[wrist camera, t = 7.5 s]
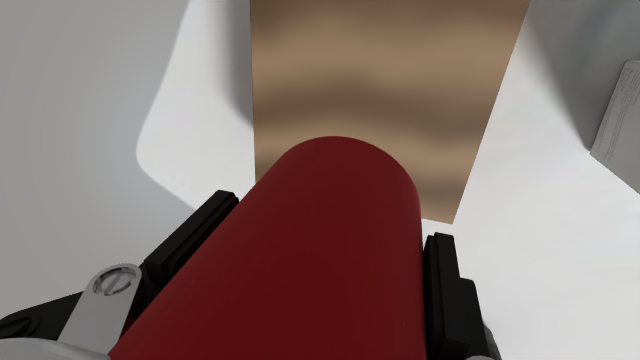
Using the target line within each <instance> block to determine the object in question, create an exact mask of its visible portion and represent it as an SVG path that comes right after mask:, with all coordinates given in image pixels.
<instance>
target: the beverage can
mask: <svg viewBox="0 0 640 360" xmlns="http://www.w3.org/2000/svg"><path fill="white" fill-rule="evenodd" d="M107 355H108V356H110V360H427V349H426V317H425V289H424V264H423V241H422V223H421V205H420V199H419V195H418V192H417V189H416V187H415V185H414V183H413V181H412V179H411V178H410V176H409V174H408V173H407V172H406V170H405V169H404V168H403V167H402V166H401V165H400V164H399V163H398V162H397V161H396V160H395V159H394V158H393V157H392V156H390V155H389V154H388V153H386V152H385V151H383V150H382V149H380V148H378V147H376V146H374V145H372V144H370V143H367V142H365V141H362V140H359V139H355V138H350V137H343V136H324V137H318V138H313V139H310V140H306V141H304V142H301V143H299V144H297V145H295V146H294V147H292V148H290V149H289V150H288V151H287V152H285V153H284V154H283V155H282V156H281V157H280V158H279V159H278V160H277V161H276V162H275V164H274V165H273V166H272V167H271V168H270V169H269V170H268V171H267V172H266V173H265V174H264V176H263V177H262V178H261V179H260V180H259V181H258V182H257V183H256V184H255V185H254V186H253V188H252V189H251V190H250V191H249V192H248V193H247V194H246V195H245V197H244V198H243V199H242V200H241V201H240V202H239V203H238V204H237V206H236V207H235V208H234V209H233V210H232V211H231V212H230V213H229V215H228V216H227V217H226V218H225V219H224V220H223V221H222V222H221V224H220V225H219V226H218V227H217V228H216V229H215V230H214V231H213V233H212V234H211V235H210V236H209V237H208V238H207V239H206V241H205V242H204V243H203V244H202V245H201V246H200V247H199V249H198V250H197V251H196V252H195V253H194V254H193V255H192V257H191V258H190V259H189V260H188V261H187V262H186V263H185V265H184V266H183V267H182V268H181V269H180V270H179V271H178V273H177V274H176V275H175V276H174V277H173V278H172V279H171V281H170V282H169V283H168V284H167V285H166V286H165V287H164V289H163V290H162V291H161V292H160V293H159V294H158V295H157V297H156V298H155V299H154V300H153V301H152V302H151V304H150V305H149V306H148V307H147V308H146V309H145V311H144V312H143V313H142V314H141V315H140V316H139V318H138V319H137V320H136V321H135V322H134V323H133V325H132V326H131V327H130V328H129V329H128V330H127V332H126V333H125V334H124V335H123V336H122V337H121V338H120V340H119V341H118V342H117V343H116V344H115V345H114V347H113V348H112V349H111V350H110V351H109V352H108V354H107Z"/></svg>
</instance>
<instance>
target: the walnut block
mask: <svg viewBox="0 0 640 360" xmlns="http://www.w3.org/2000/svg"><path fill="white" fill-rule="evenodd" d="M529 3H530V0H250V20H251V52H252V84H253V117H254V149H255V182H256V183H257V182H258V181H259V180H260V179H261V178H262V177H263V176H264V174H265V173H266V172H267V171H268V170H269V169H270V168H271V167H272V166H273V165H274V164H275V162H276V161H277V160H278V159H279V158H280V157H281V156H282V155H283V154H284V153H285V152H287V151H288V150H289V149H290V148H292V147H294V146H295V145H297V144H299V143H301V142H304V141H306V140H310V139H313V138H318V137H324V136H343V137H350V138H355V139H359V140H362V141H365V142H367V143H370V144H372V145H374V146H376V147H378V148H380V149H382V150H383V151H385V152H386V153H388V154H389V155H390V156H392V157H393V158H394V159H395V160H396V161H397V162H398V163H399V164H400V165H401V166H402V167H403V168H404V169H405V170H406V172H407V173H408V174H409V176H410V178H411V179H412V181H413V183H414V185H415V187H416V189H417V192H418V195H419V199H420V205H421V218H423V219H428V220H433V221H438V222H443V223H448V224H453V221H454V218H455V215H456V212H457V209H458V207H459V204H460V201H461V198H462V195H463V192H464V189H465V186H466V184H467V181H468V178H469V175H470V172H471V169H472V166H473V163H474V161H475V158H476V155H477V152H478V149H479V146H480V143H481V140H482V138H483V135H484V132H485V129H486V126H487V123H488V120H489V118H490V115H491V112H492V109H493V106H494V103H495V100H496V97H497V95H498V92H499V89H500V86H501V83H502V80H503V77H504V74H505V72H506V69H507V66H508V63H509V60H510V57H511V54H512V51H513V49H514V46H515V43H516V40H517V37H518V34H519V31H520V28H521V26H522V23H523V20H524V17H525V14H526V11H527V8H528V6H529Z"/></svg>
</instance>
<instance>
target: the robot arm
mask: <svg viewBox="0 0 640 360" xmlns="http://www.w3.org/2000/svg"><path fill="white" fill-rule="evenodd" d="M238 203H239V199H238V197H235V194H234V193H233V192H228V191H223V190H218V191H216V192H215V193H214V194H213V195H212V196H211V197H210V198H209V199H208V200H207V201H206V202H205V203H204V204H203V205H202V206H201V207H200V208H198V209H197V210H196V211H195V212H194V213H193V214H192V215H191V216H190V217H189V218H188V219H187V220H186V221H185V222H184V223H183V224H182V225H181V226H180V227H179V228H178V229H176V230H175V231H174V232H173V233H172V234H171V235H170V236H169V237H168V238H167V239H166V240H165V241H164V242H163V243H162V244H160V246H158V247H157V248H156V249H155V250H154V251H153V252H152V253H151V254H150V255H149V256H148V257H147V258H146V259H145V260H144V262H143V263H142V264H141V265H140V266H139V267H137V266H136V265H133V264H118V265H114V266H111V267H108V268H106V269H104V270H102V271H100V272H99V273H98V274H96V275H95V276H94V277H93V278H92V279H91V280H90V282H89V283H88V285H87V287H86V288H85V290H84V291H83V292H79V293H76V294H72V295H69V296H66V297H63V298H60V299H56V300H53V301H50V302H47V303H44V304H41V305H37V306H34V307H30V308H28V309H24V310H21V311H18V312H15V313H13V314H10V315H8V316H6V317H4V318H3V319H1V320H0V360H110V356H108V355H107V354H108V352H109V351H110V350H111V349H112V348H113V347H114V345H115V344H116V343H117V342H118V341H119V340H120V338H121V337H122V336H123V335H124V334H125V333H126V332H127V330H128V329H129V328H130V327H131V326H132V325H133V323H134V322H135V321H136V320H137V319H138V318H139V316H140V315H141V314H142V313H143V312H144V311H145V309H146V308H147V307H148V306H149V305H150V304H151V302H152V301H153V300H154V299H155V298H156V297H157V295H158V294H159V293H160V292H161V291H162V290H163V289H164V287H165V286H166V285H167V284H168V283H169V282H170V281H171V279H172V278H173V277H174V276H175V275H176V274H177V273H178V271H179V270H180V269H181V268H182V267H183V266H184V265H185V263H186V262H187V261H188V260H189V259H190V258H191V257H192V255H193V254H194V253H195V252H196V251H197V250H198V249H199V247H200V246H201V245H202V244H203V243H204V242H205V241H206V239H207V238H208V237H209V236H210V235H211V234H212V233H213V231H214V230H215V229H216V228H217V227H218V226H219V225H220V224H221V222H222V221H223V220H224V219H225V218H226V217H227V216H228V215H229V213H230V212H231V211H232V210H233V209H234V208H235V207H236V206H237V204H238ZM423 264H424V289H425V317H426V349H427V360H494V359H492V358H490V354H489V349H488V345H487V340H486V335H485V330H484V325H483V321H482V316H481V311H480V306H479V301H478V297H477V292H476V287H475V284H474V282H473V280H470V279H465V278H460V275H459V268H458V262H457V256H456V249H455V243H454V237H453V236H452V235H448V234H443V233H438V232H435V234H434V236H431V235H428V237H427V240H426V243H425V247H424V250H423Z"/></svg>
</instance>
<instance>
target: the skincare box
mask: <svg viewBox="0 0 640 360" xmlns="http://www.w3.org/2000/svg"><path fill="white" fill-rule="evenodd" d="M590 155H591V156H592V157H594V158H595V159H596V160H597V161H599V162H600V163H601V164H602V165H604V166H605V167H606V168H608V169H609V170H610V171H611V172H612V173H614V174H615V175H616V176H617V177H619V178H620V179H621V180H623V181H624V182H625V183H626V184H627V185H629V186H630V187H631V188H632V189H634V190H635V191H636V192H637V193H639V194H640V61H626V62H625V64H624V67H623V69H622V72H621V74H620V77H619V79H618V82H617V84H616V87H615V89H614V92H613V94H612V97H611V99H610V102H609V104H608V107H607V110H606V112H605V115H604V117H603V120H602V122H601V125H600V127H599V130H598V133H597V136H596V139H595V142H594V144H593V146H592V149H591V151H590Z"/></svg>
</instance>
